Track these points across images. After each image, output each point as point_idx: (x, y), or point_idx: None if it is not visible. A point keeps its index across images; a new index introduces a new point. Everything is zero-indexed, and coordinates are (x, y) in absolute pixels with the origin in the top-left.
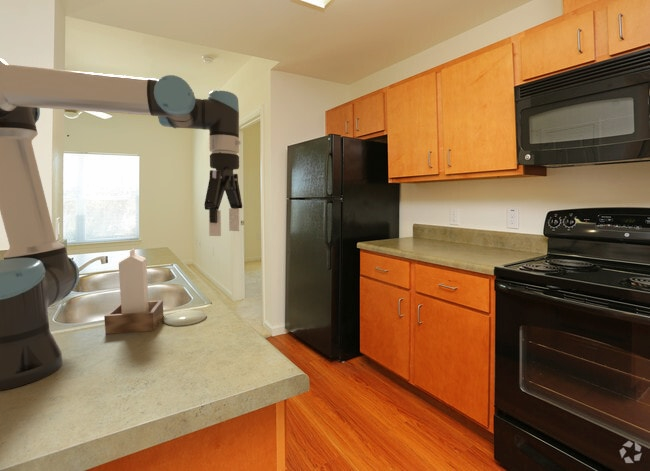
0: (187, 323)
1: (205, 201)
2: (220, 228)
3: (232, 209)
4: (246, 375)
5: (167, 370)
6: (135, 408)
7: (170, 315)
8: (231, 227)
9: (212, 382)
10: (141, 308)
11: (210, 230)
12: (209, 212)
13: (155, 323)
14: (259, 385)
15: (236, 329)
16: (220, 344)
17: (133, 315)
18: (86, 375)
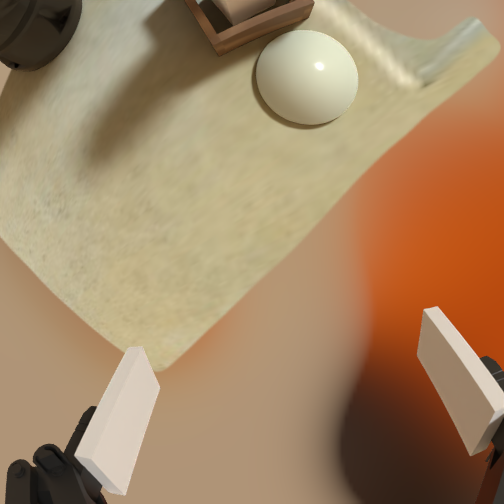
0: (269, 106)
1: (8, 486)
2: (146, 414)
3: (481, 425)
4: (124, 323)
5: (91, 212)
6: (30, 239)
7: (304, 37)
8: (429, 334)
9: (94, 291)
10: (224, 5)
11: (121, 369)
12: (81, 444)
13: (234, 45)
14: (114, 344)
15: (274, 232)
16: (194, 239)
17: (193, 14)
18: (50, 112)
